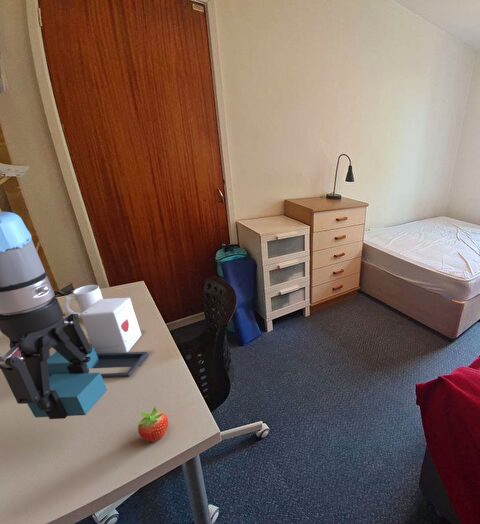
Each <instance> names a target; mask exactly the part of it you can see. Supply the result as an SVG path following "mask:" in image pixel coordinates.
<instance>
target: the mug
mask: <svg viewBox="0 0 480 524" xmlns="http://www.w3.org/2000/svg"><path fill="white" fill-rule="evenodd" d="M72 294H73V296H71V295H70V296H65V300H64V309H65V310H66V311H67V313H68V314H78V317H81V316H80V314H81V313H83V312H84V311H85V310H87V309H88V308H89V307H90V306H91V305H93V304H94V303H96V302H97V301H98V300H99V299H104V298H103V295H102V291H101V289H100V286H99V285H98V284H88V285H83V286H80V287H78V288H76V289H74V290H73V291H72ZM72 301H76V303H77V304H78V306H79V308H80V311H74V310H72V308H71V307H70V303H71V302H72Z"/></svg>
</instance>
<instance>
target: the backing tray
mask: <svg viewBox="0 0 480 524" xmlns="http://www.w3.org/2000/svg"><path fill="white" fill-rule="evenodd" d="M97 356H98V359H99V362H98V363H97V364H96V365H95V366H94V367H93V368H92V369H110V368H111V369H112V368H113V369H115V368H130V369H129V370H128V371H127V372H109V373H108V372H107V373H100V374H101V376H102V379H108V378H109V379H110V378H129V377H131V376H132V374H133V373H134V372H135V371H136V370H137V368H138V367H141V366H142V365H143V364H144V362H145V361H146V360H147V359H148V358H149V353H148V351H132V352H130V351H128V352H126V353H99V354H97ZM49 377H50V376H49Z"/></svg>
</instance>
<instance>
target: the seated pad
mask: <svg viewBox="0 0 480 524" xmlns="http://www.w3.org/2000/svg"><path fill="white" fill-rule="evenodd" d="M91 348H92V352H91V353H90V354H88V355H87V356H86V357H90V358H91V359H90V361H89V362H86V364H87V366H88V368H89V370H90V369H94V368H93V367H94V366H95V365H96V364H97V363H98V362H99V359H98V356H97V354H96V351H95V349H94V348H93V347H91ZM70 364H73V363H70V362H68V361H67V360H66V359H65V358H64V357H63V356H62V355H61V354H59V353H58V352H57V351H56V350H55V352H54V353H53V354H50V357H49V358H48V359H47V365H48V374H49V376H51V375H53V374H70V373H69V371H68V369H67V366H69V365H70Z"/></svg>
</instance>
